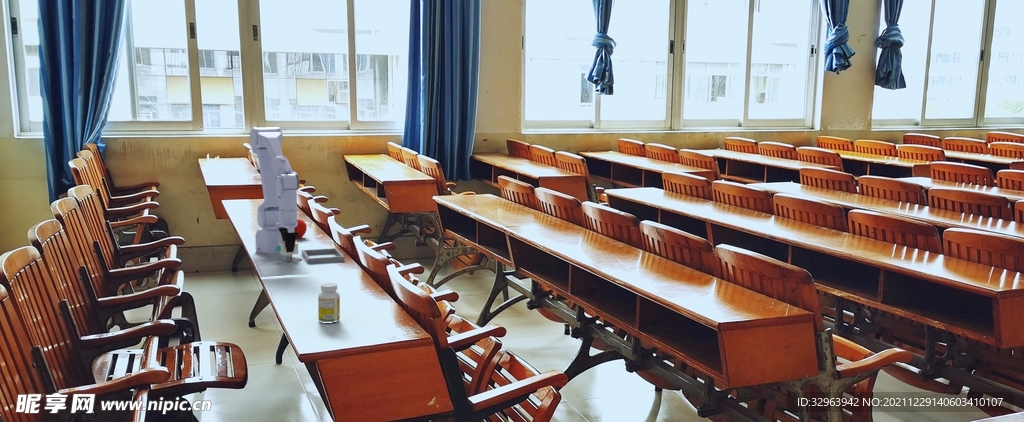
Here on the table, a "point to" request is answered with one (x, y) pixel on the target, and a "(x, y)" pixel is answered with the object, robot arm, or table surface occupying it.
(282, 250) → the collar
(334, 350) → the table surface
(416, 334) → the table surface
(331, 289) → the supplement bottle
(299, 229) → the apple
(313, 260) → the tray
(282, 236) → the robot arm
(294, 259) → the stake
